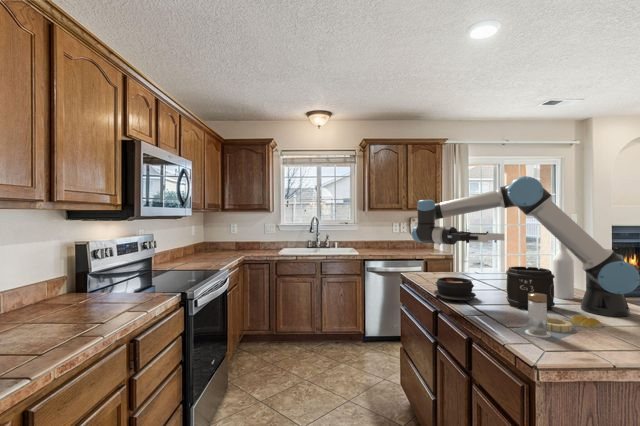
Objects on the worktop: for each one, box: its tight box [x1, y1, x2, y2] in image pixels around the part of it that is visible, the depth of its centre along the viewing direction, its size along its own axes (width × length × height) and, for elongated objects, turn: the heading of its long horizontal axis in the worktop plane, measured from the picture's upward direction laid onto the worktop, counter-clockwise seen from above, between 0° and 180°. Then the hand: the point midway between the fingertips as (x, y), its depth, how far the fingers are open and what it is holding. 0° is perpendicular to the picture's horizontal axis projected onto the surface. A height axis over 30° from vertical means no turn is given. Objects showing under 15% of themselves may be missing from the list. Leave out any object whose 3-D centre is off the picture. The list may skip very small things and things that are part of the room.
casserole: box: [433, 276, 477, 301], centre depth 164 cm, size 25×19×8 cm
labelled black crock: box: [505, 266, 556, 311], centre depth 149 cm, size 18×18×16 cm
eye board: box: [512, 316, 582, 343], centre depth 112 cm, size 20×12×4 cm, turn 124°
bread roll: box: [570, 315, 604, 329], centre depth 119 cm, size 8×9×4 cm
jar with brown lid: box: [527, 293, 548, 336], centre depth 109 cm, size 5×5×12 cm
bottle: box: [552, 241, 575, 300], centre depth 163 cm, size 8×8×30 cm
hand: (496, 237), depth 134 cm, fingers open, 13 cm apart
